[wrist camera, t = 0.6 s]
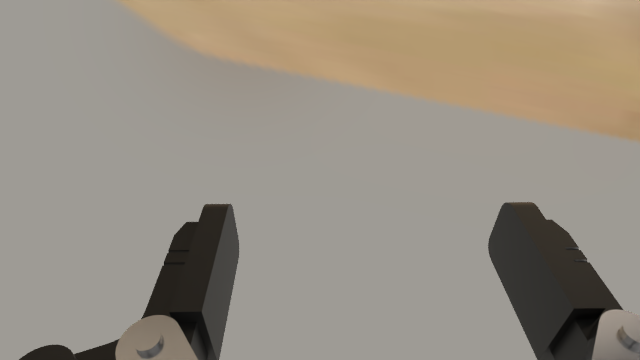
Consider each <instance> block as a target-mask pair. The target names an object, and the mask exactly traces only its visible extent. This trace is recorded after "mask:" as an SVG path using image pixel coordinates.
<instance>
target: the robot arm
mask: <svg viewBox="0 0 640 360" xmlns="http://www.w3.org/2000/svg"><path fill="white" fill-rule="evenodd" d="M488 246H489V247H488V248H489V254H490V258H491V260H492V263H493V265H494V267H495V269H496V271H497V273H498V276H499V278H500V280H501V282H502V284H503V286H504V288H505V291H506V293H507V295H508V297H509V299H510V301H511V304H512V306H513V308H514V310H515V312H516V314H517V316H518V319H519V321H520V323H521V325H522V327H523V329H524V331H525V334H526V336H527V338H528V340H529V342H530V344H531V347H532V349H533V351H534V353H535V355H536V357H537V359H538V360H640V316H639V315H637V314H634V313H632V312H629V311H625V310H623V309H622V308H621V306H620V305H619V303H618V302H617V300H616V299H615V298H614V296H613V295H612V294H611V292H610V291H609V289H608V288H607V287H606V285H605V284H604V282H603V281H602V280H601V278H600V277H599V275H598V274H597V272H596V271H595V270H594V268H593V267H592V265H591V264H590V263H588V262H587V258H586V257H585V256H584V255H583V253H582V252H581V250H579V249H578V246H577V244H576V243H575V242H574V240H573V239H572V238H571V236H570V235H569V233H568V232H567V231H565V230H564V229H563V228H562V227H560V226H559V225H558V224H557V223H555V222H554V221H553V220H546V219H545V217H544V216H543V214H542V213H541V212H540V210H539V209H538V207H537V206H536V205H535V204H534V203H531V202H527V203H526V202H518V203H504V204H503V205H502V207H501V209H500V212H499V215H498V218H497V220H496V222H495V225H494V227H493V230H492V233H491V235H490V238H489V245H488ZM238 258H239V240H238V235H237V229H236V223H235V218H234V212H233V207H232V205H231V204H206V205H205V206H204V207H203V210H202V213H201V216H200V219H199V222H186V223H185V224H184V225H183V226H182V228H181V229H180V230H179V231H178V232H177V233H176V234H175V235H174V237H173V240H172V243H171V245H170V248H169V253H168V254H167V256H166V258H165V261H164V266H162V269H161V271H160V274H159V277H158V279H157V282H156V284H155V287H154V290H153V292H152V295H151V298H150V300H149V303H148V306H147V308H146V311H145V313H144V315H143V317H142V318H141V320H139V321H137V322H136V323H134V324H133V325H132V326H130V327H129V328H128V329H127V330H126V331H125V332H124V333H123V335H122V336H121V338H120V339H118V340H116V341H114V342H111V343H109V344H106V345H102V346H99V347H96V348H93V349H89V350H86V351H83V352H80V353H76V354H73V353H72V352H71V350H70V349H68V348H67V347H65V346H62V345H48V346H44V347H40V348H38V349H35V350H33V351H31V352H30V353H28V354H26V355H25V356H23V357H22V358H21V359H19V360H219V357H220V352H221V347H222V342H223V336H224V331H225V326H226V321H227V316H228V310H229V305H230V300H231V295H232V289H233V285H234V279H235V274H236V269H237V264H238Z"/></svg>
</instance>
